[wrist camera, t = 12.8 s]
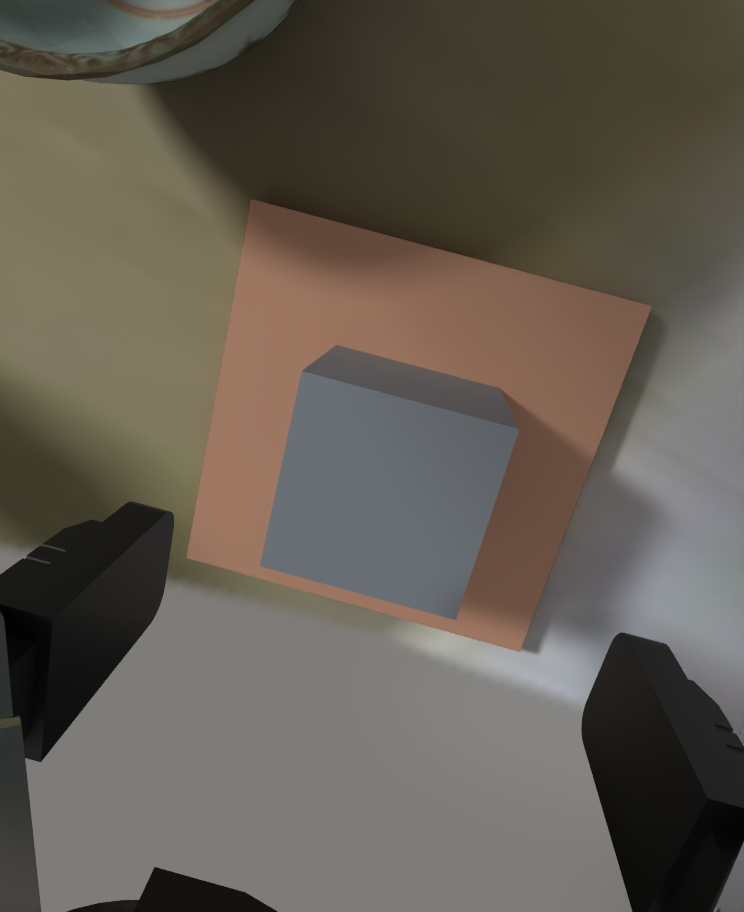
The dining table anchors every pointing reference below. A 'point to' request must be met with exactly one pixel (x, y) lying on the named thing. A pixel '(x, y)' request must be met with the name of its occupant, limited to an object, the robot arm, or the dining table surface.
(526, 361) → the terracotta tile
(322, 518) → the slate cube
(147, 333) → the dining table surface
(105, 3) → the bowl
